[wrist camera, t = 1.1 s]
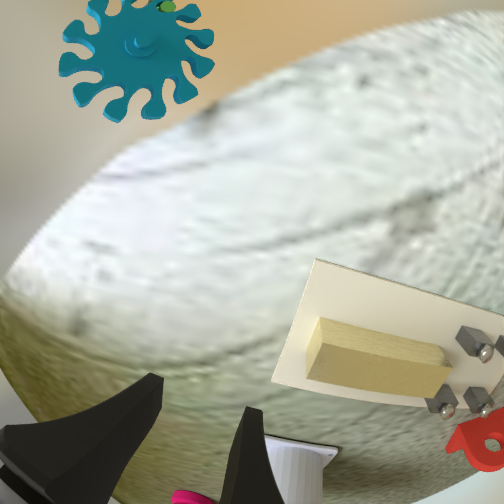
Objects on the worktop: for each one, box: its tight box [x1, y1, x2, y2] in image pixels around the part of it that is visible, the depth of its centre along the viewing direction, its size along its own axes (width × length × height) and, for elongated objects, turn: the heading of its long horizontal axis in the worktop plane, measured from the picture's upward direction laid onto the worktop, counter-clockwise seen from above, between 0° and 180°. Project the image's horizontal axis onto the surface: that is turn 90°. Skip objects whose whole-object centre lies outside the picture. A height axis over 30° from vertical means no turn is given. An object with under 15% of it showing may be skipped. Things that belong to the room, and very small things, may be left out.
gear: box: [59, 0, 215, 123], centre depth 14 cm, size 11×6×10 cm
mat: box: [271, 259, 504, 409], centre depth 18 cm, size 10×23×1 cm, turn 76°
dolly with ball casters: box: [424, 325, 504, 420], centre depth 15 cm, size 7×8×3 cm
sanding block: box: [306, 317, 453, 398], centre depth 16 cm, size 3×10×3 cm, turn 76°
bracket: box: [446, 407, 504, 472], centre depth 15 cm, size 12×4×8 cm, turn 96°
